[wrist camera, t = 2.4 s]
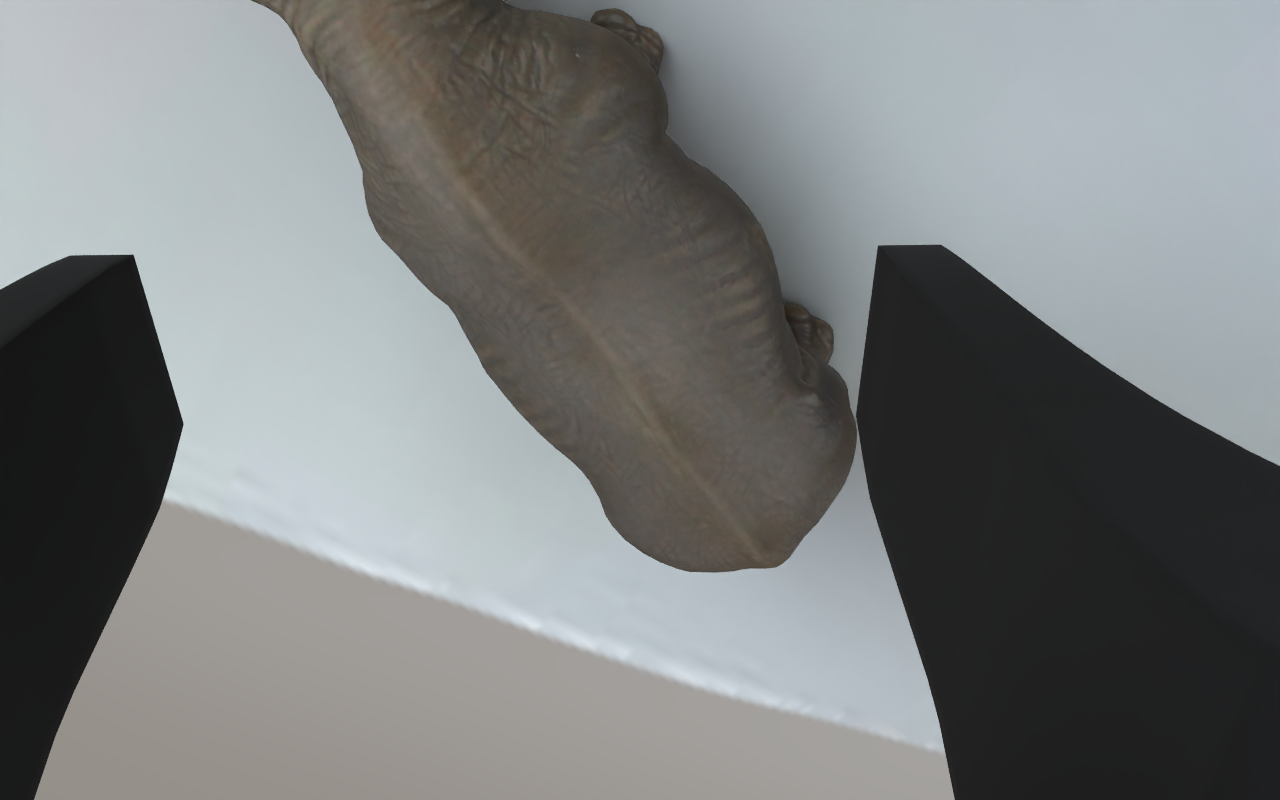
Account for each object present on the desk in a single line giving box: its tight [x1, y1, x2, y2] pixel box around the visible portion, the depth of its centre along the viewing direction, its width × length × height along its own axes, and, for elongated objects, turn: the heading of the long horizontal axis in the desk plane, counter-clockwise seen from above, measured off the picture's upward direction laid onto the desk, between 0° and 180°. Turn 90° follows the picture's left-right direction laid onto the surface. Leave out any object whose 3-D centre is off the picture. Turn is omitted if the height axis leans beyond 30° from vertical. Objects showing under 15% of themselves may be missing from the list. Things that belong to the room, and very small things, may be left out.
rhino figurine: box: [252, 0, 857, 572], centre depth 15 cm, size 4×14×6 cm, turn 33°
